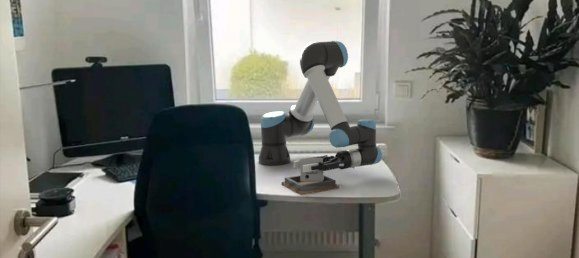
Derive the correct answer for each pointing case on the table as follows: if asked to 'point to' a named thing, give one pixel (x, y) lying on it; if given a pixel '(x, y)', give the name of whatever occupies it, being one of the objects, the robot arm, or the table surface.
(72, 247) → the table surface
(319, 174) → the electrical switch
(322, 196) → the table surface
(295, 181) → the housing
